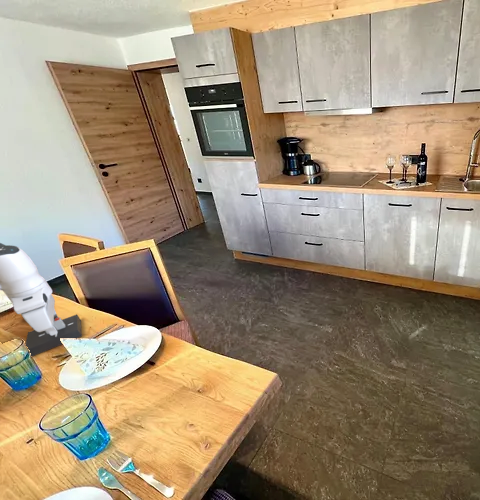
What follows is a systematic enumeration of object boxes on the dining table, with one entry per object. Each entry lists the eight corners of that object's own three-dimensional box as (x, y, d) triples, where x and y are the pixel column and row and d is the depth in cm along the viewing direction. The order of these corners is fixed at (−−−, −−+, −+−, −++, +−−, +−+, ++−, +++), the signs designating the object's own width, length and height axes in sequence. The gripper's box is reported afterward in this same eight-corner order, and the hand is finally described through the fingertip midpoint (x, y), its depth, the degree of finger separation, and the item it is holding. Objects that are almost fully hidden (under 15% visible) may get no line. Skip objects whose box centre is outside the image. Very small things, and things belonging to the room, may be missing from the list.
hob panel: (29, 357, 92) (24, 350, 90) (32, 338, 99) (27, 331, 98) (82, 336, 99) (77, 329, 97) (81, 320, 106) (76, 313, 105)
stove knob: (47, 334, 96) (41, 325, 94) (47, 331, 97) (41, 323, 96) (65, 327, 99) (59, 319, 97) (65, 324, 100) (59, 316, 98)
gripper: (21, 284, 96) (44, 315, 103) (13, 313, 82) (40, 347, 89) (46, 276, 100) (67, 307, 106) (43, 303, 86) (67, 337, 93)
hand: (55, 326), depth 98 cm, fingers open, 8 cm apart
